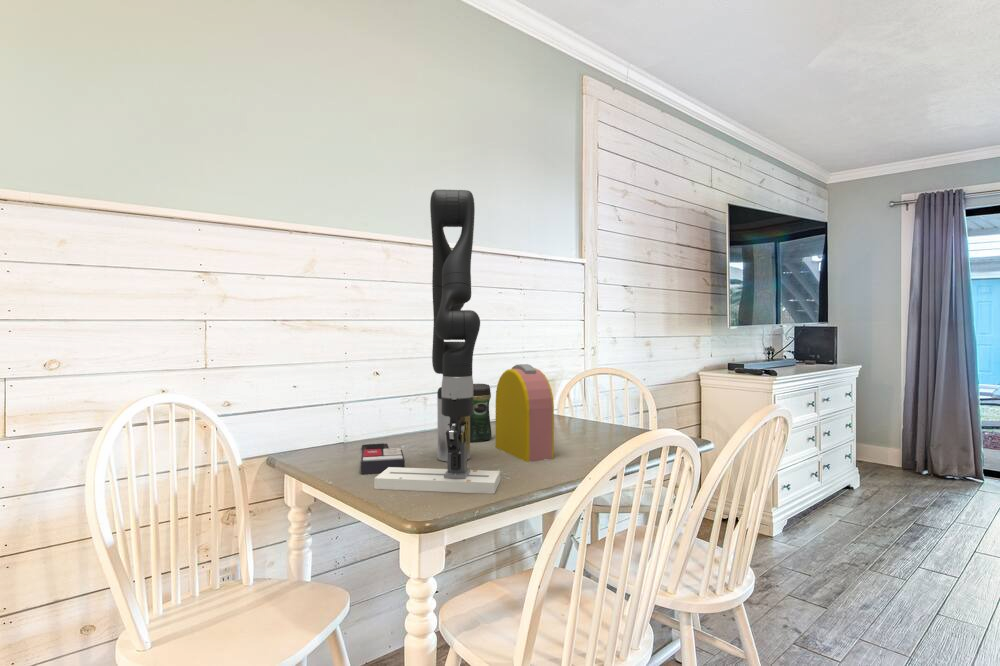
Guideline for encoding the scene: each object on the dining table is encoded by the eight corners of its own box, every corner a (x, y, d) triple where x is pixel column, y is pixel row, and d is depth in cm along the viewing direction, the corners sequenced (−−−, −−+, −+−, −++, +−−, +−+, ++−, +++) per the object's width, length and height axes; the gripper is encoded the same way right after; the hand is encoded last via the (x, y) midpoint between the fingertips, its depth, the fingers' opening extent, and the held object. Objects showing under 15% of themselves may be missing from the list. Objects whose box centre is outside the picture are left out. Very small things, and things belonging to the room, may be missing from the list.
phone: (387, 443, 172) (390, 454, 158) (387, 446, 172) (390, 457, 158) (361, 444, 170) (362, 455, 156) (361, 448, 170) (362, 459, 156)
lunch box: (554, 458, 156) (554, 366, 156) (526, 462, 152) (526, 367, 152) (520, 444, 175) (520, 361, 174) (494, 446, 171) (494, 362, 171)
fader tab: (449, 470, 133) (449, 438, 133) (470, 471, 132) (470, 439, 132) (443, 478, 126) (443, 444, 126) (465, 478, 126) (465, 445, 126)
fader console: (388, 477, 137) (388, 466, 137) (500, 481, 133) (500, 470, 133) (374, 488, 127) (374, 477, 127) (494, 493, 123) (494, 482, 123)
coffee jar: (485, 436, 187) (485, 382, 187) (494, 440, 180) (494, 384, 180) (458, 438, 183) (458, 383, 183) (466, 443, 176) (466, 385, 176)
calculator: (401, 446, 156) (404, 456, 141) (402, 462, 156) (404, 473, 141) (362, 448, 154) (360, 458, 139) (362, 464, 153) (360, 475, 139)
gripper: (448, 390, 136) (448, 460, 137) (434, 398, 123) (434, 475, 123) (478, 391, 135) (478, 461, 136) (467, 399, 122) (467, 476, 122)
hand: (457, 467), depth 129 cm, fingers closed on fader tab, 3 cm apart
